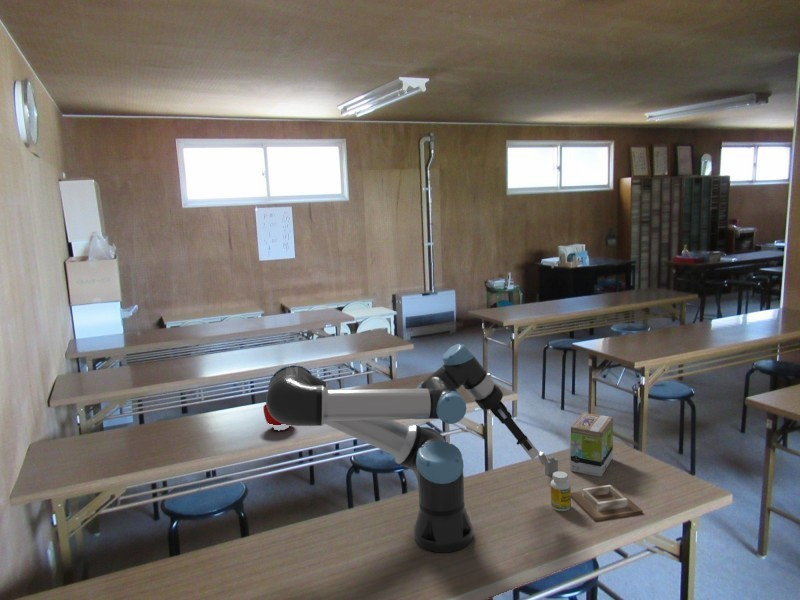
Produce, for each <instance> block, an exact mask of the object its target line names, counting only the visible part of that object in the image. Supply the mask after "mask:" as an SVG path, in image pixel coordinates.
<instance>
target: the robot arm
mask: <svg viewBox="0 0 800 600" xmlns="http://www.w3.org/2000/svg"><path fill="white" fill-rule="evenodd" d="M441 360H442V361H443V365H442V366H440V368H438V369H437V370H436V371H435V372H433V373H432V374H431V375H430V376H428V377H427V378H425V380H423V381H422V382H420V384H419V385H418V386H417V387H416V388H371V389H370V388H369V389H368V388H366V389H365V388H362V389H361V388H359V389H358V388H357V389H356V388H355V389H353V388H352V389H351V388H350V389H349V388H348V389H345V388H344V389H330V386H329V384H328V382H327V381H325V380H323V379H320V378H319V377H317V376H315V375H313V374H312V373H311V372H310V370H309V369H307V368H306V367H304V366H303V365H300V364H294V363H293V364H287V365H284V366H282V367H280V368H278V369H277V370H276V371H275V372H274V373H273V375H272V376H271V378H270V381H269V382H268V387H267V393H266V396H265V404H266V406H267V409H268V412H269V413H270V415H271V416H272V417H273V418H274V419H275V420H277V421H278V422H280V423H283V424H286V425H291V426H296V427H317V426H318V427H319V426H324V425H326V426H328V427H331V428H333V429H335V430H337V431H340V432H342V433H344V434H346V435H348V436H351V437H353V438H355V439H356V440H360V441H361V442H364V443H365V444H368V445H370V446H372V447H374V448H377V449H379V450H381V451H383V452H385V453H388V454H390V455H392V456H393V458H394V461H395V463H396V464H397V465H398V464H399V465H400V466H403V467H405V468H407V469H409V470H412V471H413V473H414V476H415V478H416V481H417V486H418V487H417V489H418V505H419V509H418V512H417V516H416V519H415V523H414V526H413V527H414V528H413V534H414V540H415V542H416V544H417V545H419V547H421V548H423V549H424V550H427V551H430V552H435V553H452V552H457V551H459V550H462V549H464V548H465V547H467V546H468V545H470V543H471V541H472V540H473V537H474V536H473V535H474V533H473V525H472V522H471V519H470V517H469V514H468V512H467V510H466V507H465V487H464V485H465V484H464V483H465V482H464V481H465V480H464V459H463V454H462V452H461V450H460V448H458V447H457V446H456V445H455V444H452V443H449V442H448V441H447V440H446V439H445V437H444V436H443V435H442V434H441V433H440V432H439V431H437V430H436V429H434V428H433V427H430V426H420V425H417V424H415V423H411V424H410V423H409V424H408V425H404V424H402V423H400V422H398V421H397V420H399V421H400V420H429V419H430V420H438V419H439V420H440V421H441V422H444V423H445V424H448V425H449V424H450V425H454V424H457V423H459V422H461V421H462V420H463V419H464V417H465V415H466V413H467V405H466V401H465V400H464V398H463V396H462V395H461V393H459V392H458V390H459V389H460V388H461V387H463V388H464V390H466V392H467V393H468V395H469V396H470V397H471V398H472V399H473V400H474V402H475V403H476V404H477V405H478V407H479V409H481V410H483V411H488V410H490V411H491V413H492V414H493V415H494V417H496V418H497V419H498V420H499V422H500V424H502V425H504V426H505V427H506V428H507V430H509V432H510V433H511V435H512V436H514V438H515V439H516V440H517V441H516V445H518V446H521V448H523V450H524V451H525V453H526V454H527V455H528V456H529V458H530V459H531V460H534V459H535V458H537V457H538V455H539V454H540V453H539V452H540V451H538V449H537V448H536V447H535V445H534V444H533V443H532V441H530V439H529V438H528V436H527V435H526V434H524V432H523V431H522V430H521V428H520V427H519V425H518V424H517V423H516V422H515V421H514V419H513V416H512V413H510V411H509V410H508V408H507V406H505V404H504V403H503V402H502V399H503V397H504V393H503V391H502V390H501V389H500V388H499V386H498V385H497V384H496V383H495V381H494V380H493V379H492V378H491V377H492V374H491V373H487V371H486V370H485V369H484V367H483V365H482V364H481V363H480V362H479V360H478V359H477V358H476V356H475V355H474V354H473V352H471V351H470V350H469V348H468V347H467V346H466V345H465V344H464V343H456V344H454V345H452V346H450V347H448V349H447V350H446V352H444V353H443V355H442V359H441Z"/></svg>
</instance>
